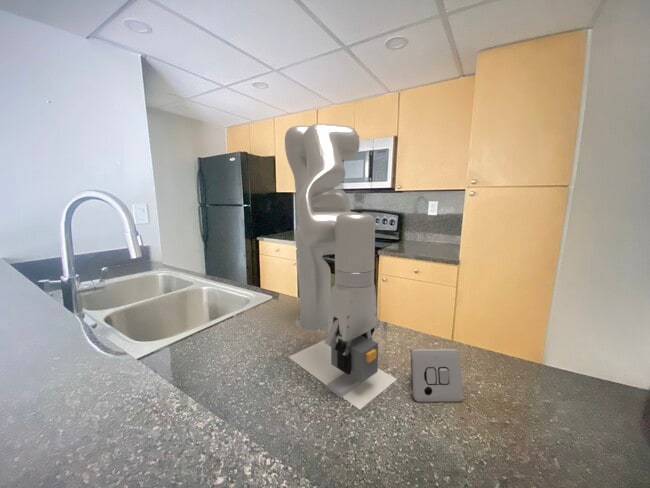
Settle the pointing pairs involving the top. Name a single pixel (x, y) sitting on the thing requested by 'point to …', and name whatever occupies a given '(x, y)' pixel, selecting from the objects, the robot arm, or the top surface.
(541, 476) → the top surface
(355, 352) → the block
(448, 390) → the electrical switch
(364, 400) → the plate
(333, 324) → the robot arm
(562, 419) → the top surface
